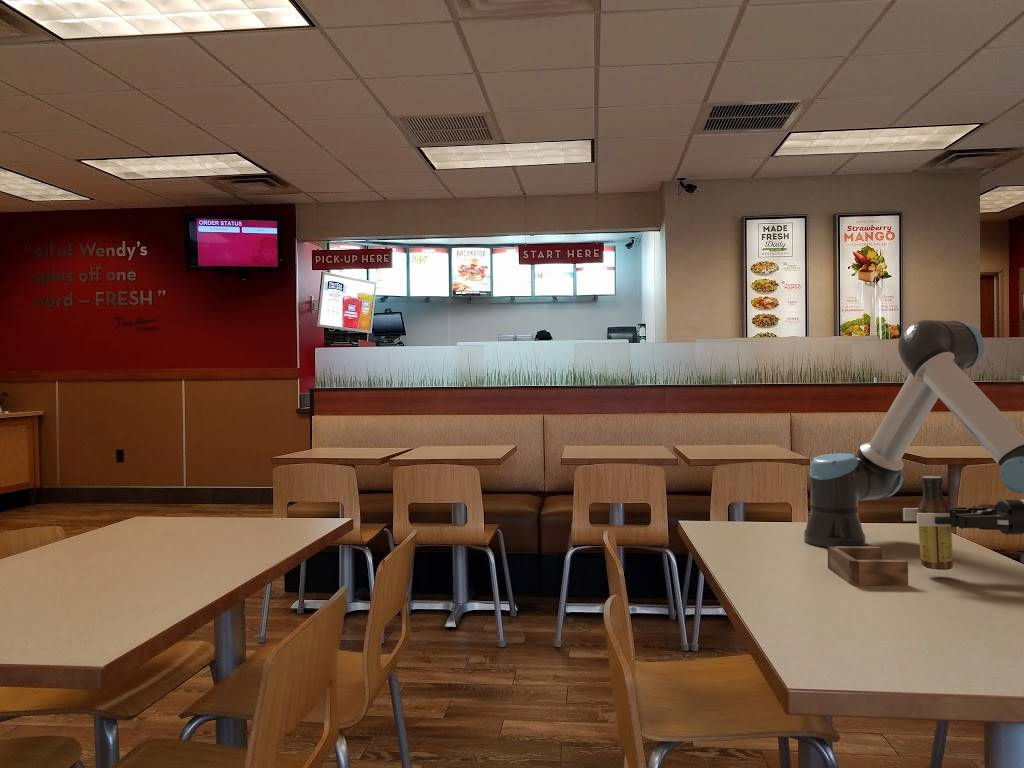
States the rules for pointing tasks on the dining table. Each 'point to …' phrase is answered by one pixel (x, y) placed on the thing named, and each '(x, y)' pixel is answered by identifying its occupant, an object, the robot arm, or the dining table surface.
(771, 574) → the dining table surface
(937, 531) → the sauce bottle
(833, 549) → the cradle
